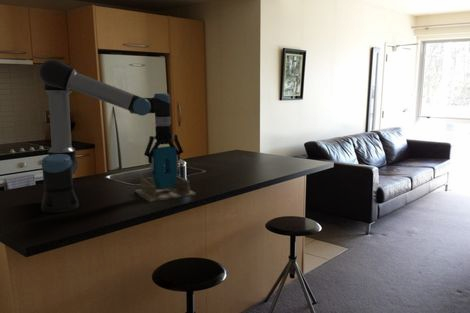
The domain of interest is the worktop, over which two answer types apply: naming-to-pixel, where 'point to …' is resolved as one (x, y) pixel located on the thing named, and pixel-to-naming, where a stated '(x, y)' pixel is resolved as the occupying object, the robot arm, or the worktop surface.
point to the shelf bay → (164, 190)
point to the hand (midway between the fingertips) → (164, 168)
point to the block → (169, 175)
